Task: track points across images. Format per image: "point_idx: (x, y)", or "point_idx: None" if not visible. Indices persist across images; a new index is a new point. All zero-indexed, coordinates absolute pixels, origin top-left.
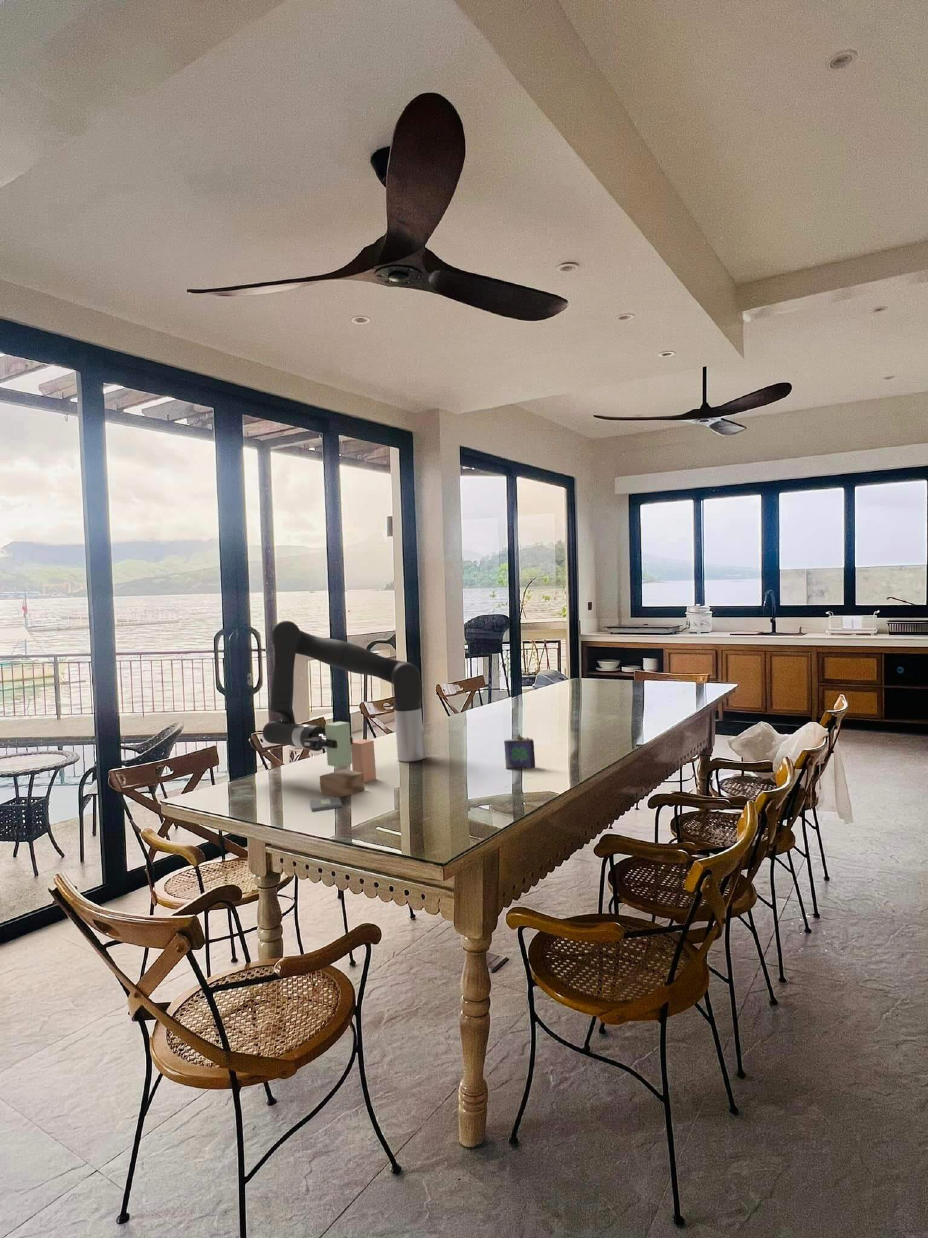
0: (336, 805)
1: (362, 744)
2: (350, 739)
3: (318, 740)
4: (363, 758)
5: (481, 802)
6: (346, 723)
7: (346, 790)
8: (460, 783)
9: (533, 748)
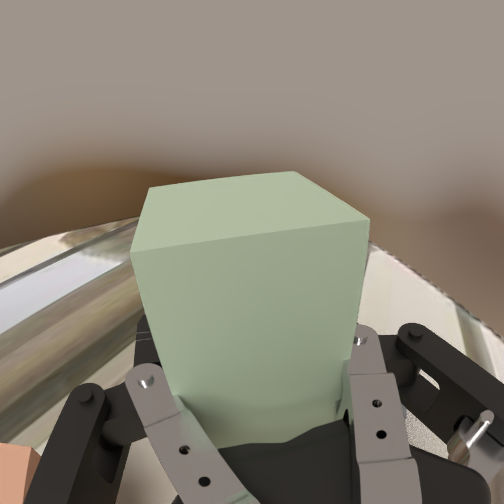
0: None
1: (24, 448)
2: None
3: (420, 328)
4: None
5: (129, 248)
6: (180, 183)
7: None
8: (41, 317)
9: None
